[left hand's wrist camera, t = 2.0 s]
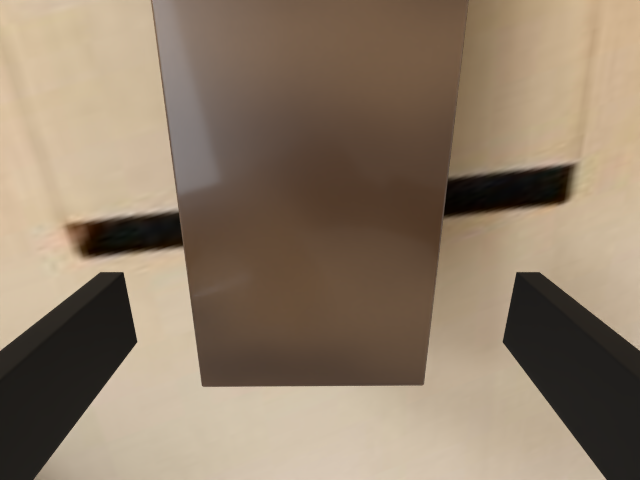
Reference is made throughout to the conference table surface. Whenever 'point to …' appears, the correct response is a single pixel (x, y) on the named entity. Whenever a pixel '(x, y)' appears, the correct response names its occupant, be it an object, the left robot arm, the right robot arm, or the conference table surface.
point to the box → (311, 181)
